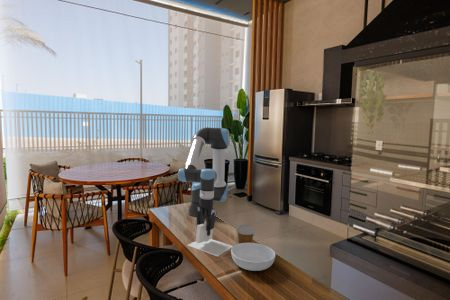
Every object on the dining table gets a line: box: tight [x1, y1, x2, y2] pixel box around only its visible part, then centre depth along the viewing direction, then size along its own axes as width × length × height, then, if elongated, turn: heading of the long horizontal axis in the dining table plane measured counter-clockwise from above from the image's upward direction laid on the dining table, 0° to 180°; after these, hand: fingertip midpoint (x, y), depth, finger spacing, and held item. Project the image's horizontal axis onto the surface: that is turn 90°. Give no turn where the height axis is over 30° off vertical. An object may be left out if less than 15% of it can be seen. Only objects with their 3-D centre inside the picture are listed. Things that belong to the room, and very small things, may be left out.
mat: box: [187, 238, 234, 258], centre depth 145 cm, size 15×20×1 cm
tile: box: [195, 222, 214, 243], centre depth 147 cm, size 12×2×9 cm, turn 147°
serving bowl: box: [230, 242, 276, 272], centre depth 128 cm, size 21×21×7 cm
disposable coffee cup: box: [236, 224, 256, 244], centre depth 144 cm, size 10×10×12 cm
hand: (204, 240), depth 147 cm, fingers closed on tile, 2 cm apart
